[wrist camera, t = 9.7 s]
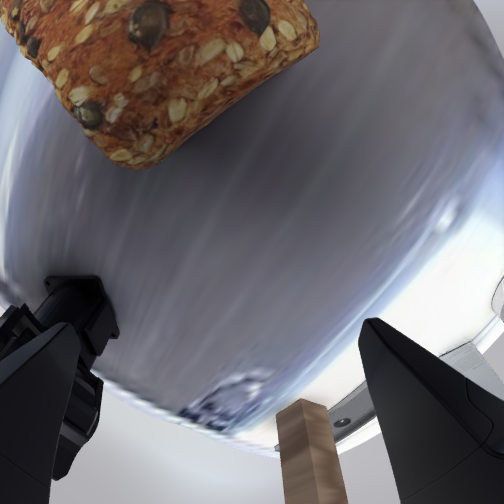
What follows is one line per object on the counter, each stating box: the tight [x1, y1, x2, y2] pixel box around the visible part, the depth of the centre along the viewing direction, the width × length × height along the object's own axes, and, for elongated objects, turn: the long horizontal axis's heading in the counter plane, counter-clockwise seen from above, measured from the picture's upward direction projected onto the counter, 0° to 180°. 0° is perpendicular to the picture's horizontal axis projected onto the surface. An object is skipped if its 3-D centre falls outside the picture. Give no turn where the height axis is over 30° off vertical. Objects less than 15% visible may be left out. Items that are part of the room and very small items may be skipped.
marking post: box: [276, 399, 348, 504], centre depth 22 cm, size 4×4×16 cm
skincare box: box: [439, 342, 504, 400], centre depth 22 cm, size 6×4×12 cm
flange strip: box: [275, 381, 377, 452], centre depth 30 cm, size 22×7×1 cm, turn 149°
